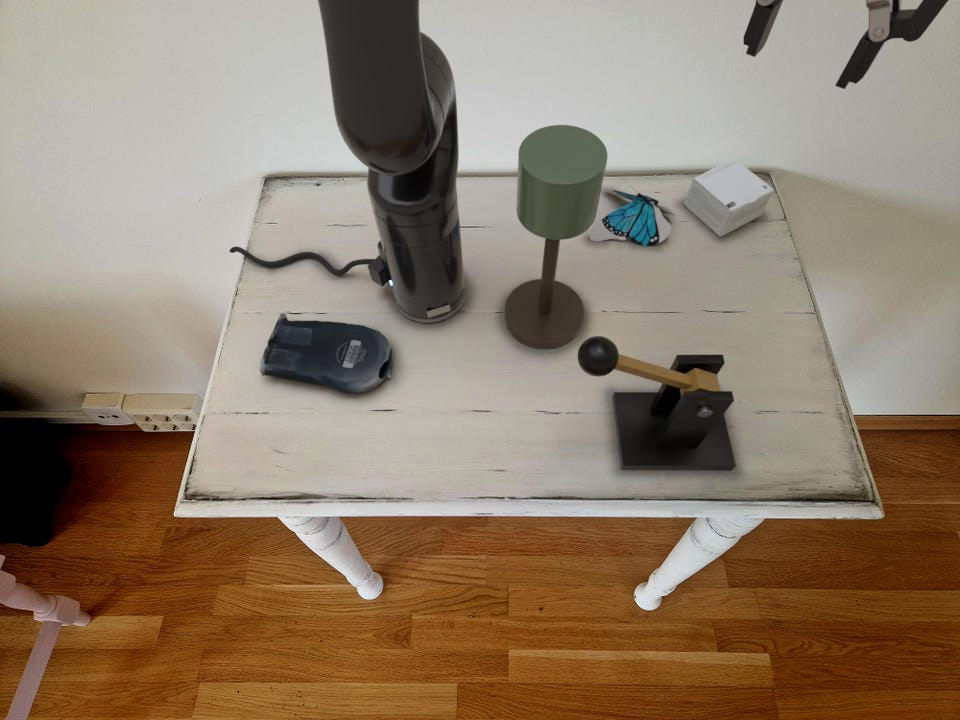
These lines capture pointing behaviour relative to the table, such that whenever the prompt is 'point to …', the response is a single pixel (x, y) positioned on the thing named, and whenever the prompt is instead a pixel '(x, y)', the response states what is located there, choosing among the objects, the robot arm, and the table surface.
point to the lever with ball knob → (639, 367)
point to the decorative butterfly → (634, 221)
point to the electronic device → (328, 354)
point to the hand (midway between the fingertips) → (798, 65)
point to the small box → (728, 197)
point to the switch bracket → (675, 424)
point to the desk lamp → (554, 227)
